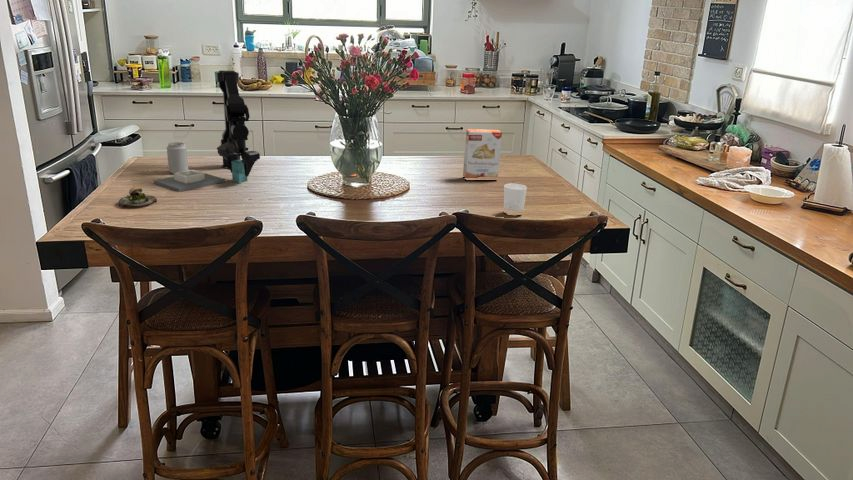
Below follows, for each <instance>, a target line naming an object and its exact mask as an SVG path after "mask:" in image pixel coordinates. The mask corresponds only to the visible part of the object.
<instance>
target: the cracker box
mask: <svg viewBox="0 0 853 480" xmlns="http://www.w3.org/2000/svg"><path fill="white" fill-rule="evenodd" d="M502 135H503V134H502V131H501V130H499V129H481V128H479V129H477V128H475V129H474V128H466V129H465V141H464V142H465V144H464V155H463V157H464V158H463V170H462V171H463V172H462V177H463V176H464V177H465V178H478V177H498V178H499V166H500V156H501V149H502V148H501V147H502V146H501V145H502Z"/></svg>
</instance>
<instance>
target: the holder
mask: <svg viewBox="0 0 853 480" xmlns="http://www.w3.org/2000/svg"><path fill="white" fill-rule="evenodd" d="M225 180H226V179H225V178H223V177H221V176H216V175H212V174H209V173H206V172H202V171H198V170H195V169H188V170H187V171H182V172H176V173H174V174H173V176H170V177H164V178H160V179H159V178H158V179H154V180H153V184H155V185H158V186H161V187H164V188H166V189H170V190H173V191H176V192H179V193H180V192H183V191H184V192H185V191H188V190H193V189H194V190H195V189H199V188H202V187H207V186H212V185H216V184H221V183H222V184H223V183H225V182H226V181H225Z"/></svg>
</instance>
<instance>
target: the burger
mask: <svg viewBox="0 0 853 480" xmlns="http://www.w3.org/2000/svg"><path fill="white" fill-rule="evenodd" d="M132 184H133V187H131V188H130V189H129V191H128V193H129V194H127V195H126V196H124V197H121V198H120V199H118V202H119V204H118V206H119V207H121V208H122V209H123V208H124V207H125V206H127V207H142V206H148V205H149V204H152V203H153V202H155V203H157V199H158V198H157V197H155V196H154V195H147V194H145V193H144V192H143V188H142V187H140V186H135V185H134V183H132Z"/></svg>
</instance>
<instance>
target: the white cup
mask: <svg viewBox="0 0 853 480" xmlns="http://www.w3.org/2000/svg"><path fill="white" fill-rule="evenodd" d="M503 189H504V190H503V209H504V208H505V209H507V210H512V211H520V210H523V211H524V208H525V204H526V203H525V202H526V196H527V189H528V187H527V186H526V185H524V184H523V183H522V184H519V183H506V184H504V185H503Z"/></svg>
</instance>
